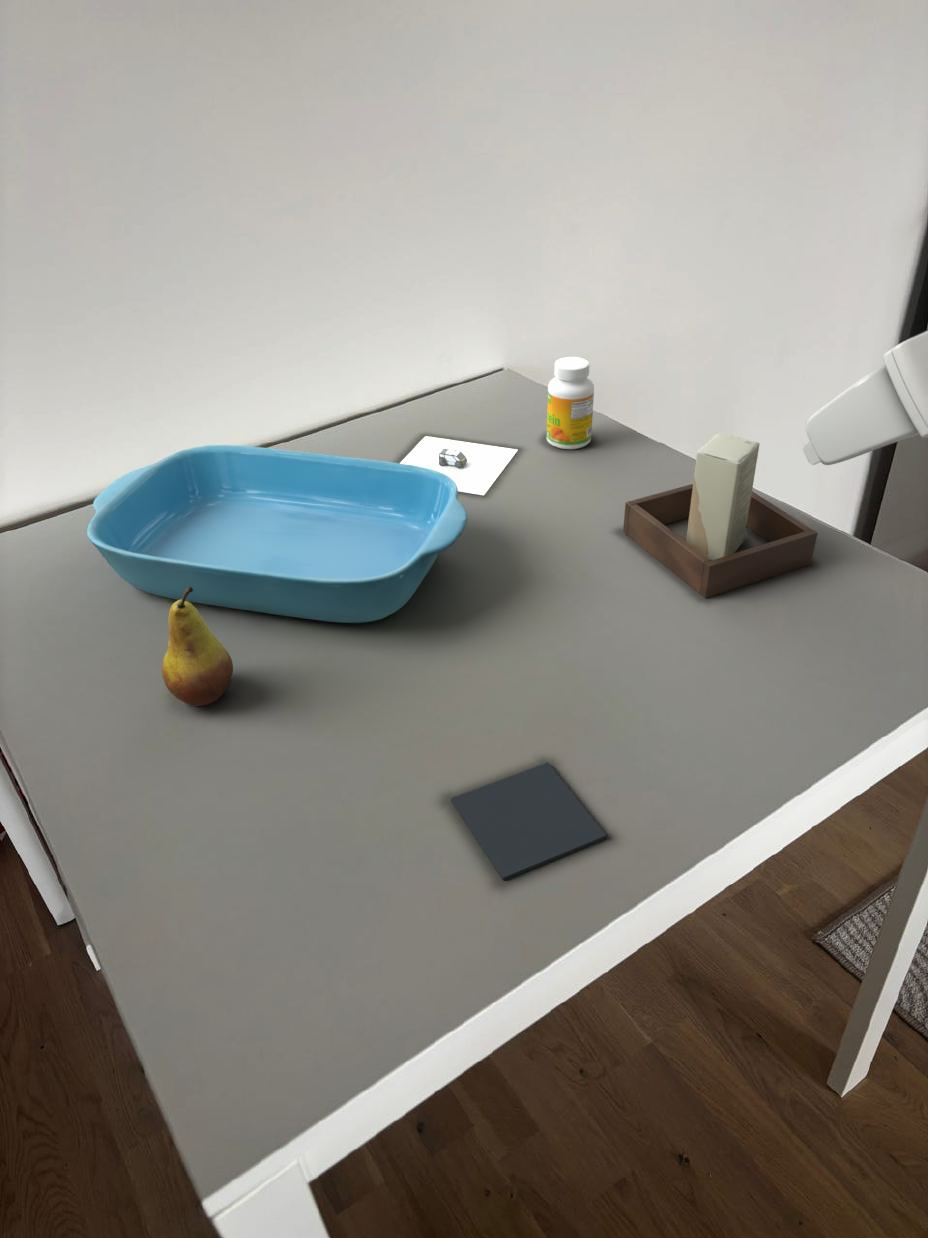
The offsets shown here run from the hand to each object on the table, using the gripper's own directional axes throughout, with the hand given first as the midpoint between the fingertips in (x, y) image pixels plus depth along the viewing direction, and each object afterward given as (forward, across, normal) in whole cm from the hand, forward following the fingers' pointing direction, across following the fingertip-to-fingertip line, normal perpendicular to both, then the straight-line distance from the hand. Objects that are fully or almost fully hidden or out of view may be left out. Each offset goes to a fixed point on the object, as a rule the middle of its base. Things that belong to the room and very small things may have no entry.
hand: (851, 438), depth 79 cm
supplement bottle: (+40, -3, -17) cm, 43 cm away
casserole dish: (+35, +37, -12) cm, 53 cm away
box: (+20, +1, +3) cm, 20 cm away
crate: (+20, +1, +3) cm, 20 cm away
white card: (+42, +12, -19) cm, 47 cm away
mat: (+6, +37, +16) cm, 41 cm away
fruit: (+25, +51, -2) cm, 57 cm away
